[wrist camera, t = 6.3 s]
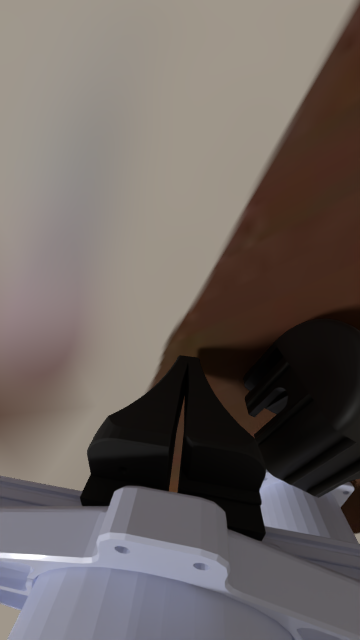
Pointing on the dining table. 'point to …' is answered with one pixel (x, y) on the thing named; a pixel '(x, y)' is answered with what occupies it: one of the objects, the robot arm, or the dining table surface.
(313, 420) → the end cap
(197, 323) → the dining table surface
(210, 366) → the dining table surface
